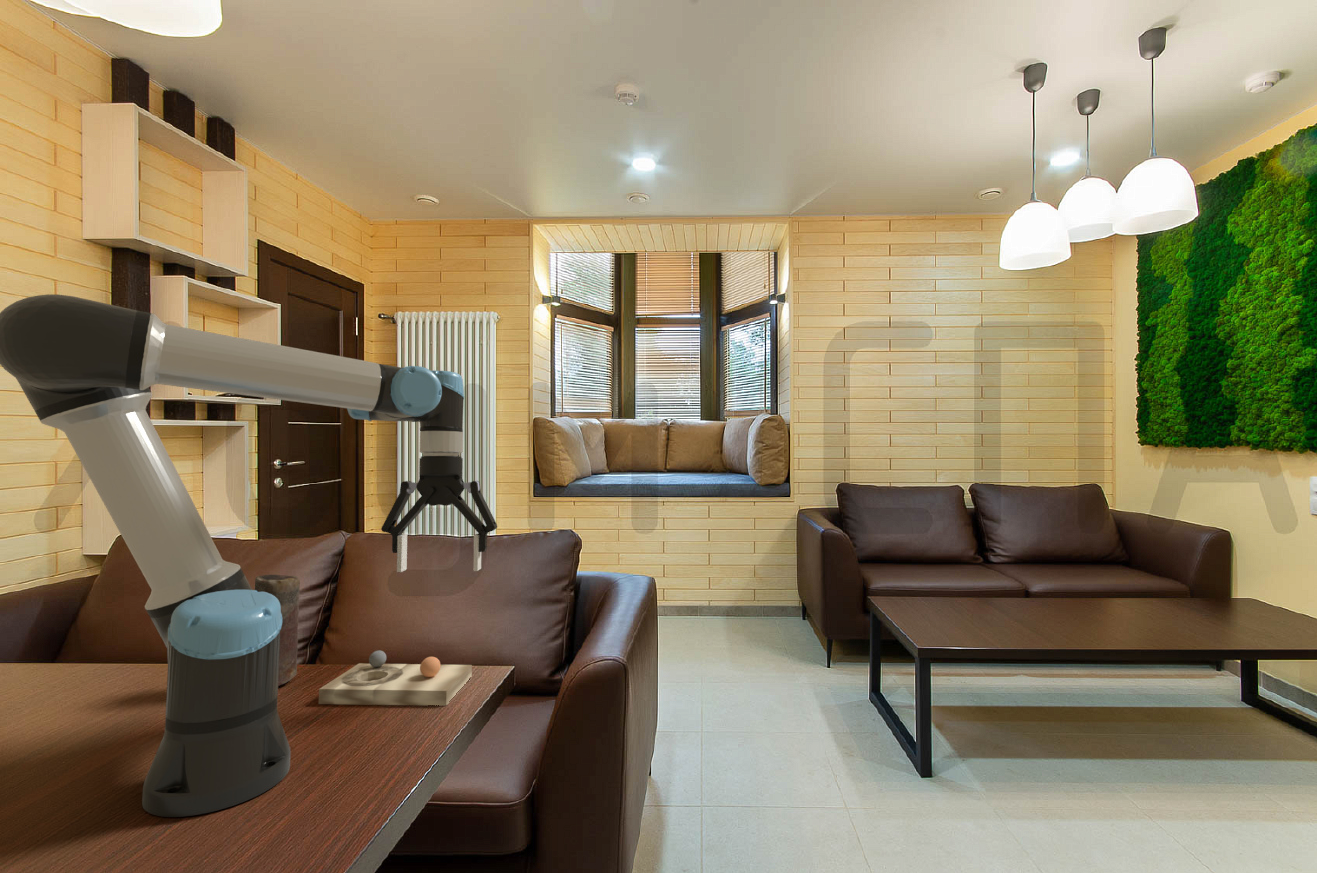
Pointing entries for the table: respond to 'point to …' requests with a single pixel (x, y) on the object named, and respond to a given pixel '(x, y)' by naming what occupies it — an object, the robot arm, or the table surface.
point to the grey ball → (377, 658)
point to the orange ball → (430, 666)
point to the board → (395, 685)
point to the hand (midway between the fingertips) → (439, 570)
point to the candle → (284, 619)
